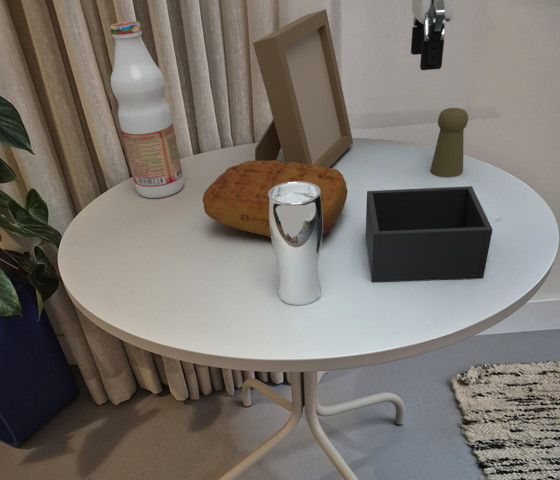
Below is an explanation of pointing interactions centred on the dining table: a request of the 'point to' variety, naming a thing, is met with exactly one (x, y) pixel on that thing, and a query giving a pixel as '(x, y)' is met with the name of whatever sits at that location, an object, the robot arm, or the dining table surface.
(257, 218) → the clay tablet
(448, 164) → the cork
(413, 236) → the basket
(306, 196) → the beer glass
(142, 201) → the dining table surface
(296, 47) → the photo frame
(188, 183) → the dining table surface
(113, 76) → the fruit juice
